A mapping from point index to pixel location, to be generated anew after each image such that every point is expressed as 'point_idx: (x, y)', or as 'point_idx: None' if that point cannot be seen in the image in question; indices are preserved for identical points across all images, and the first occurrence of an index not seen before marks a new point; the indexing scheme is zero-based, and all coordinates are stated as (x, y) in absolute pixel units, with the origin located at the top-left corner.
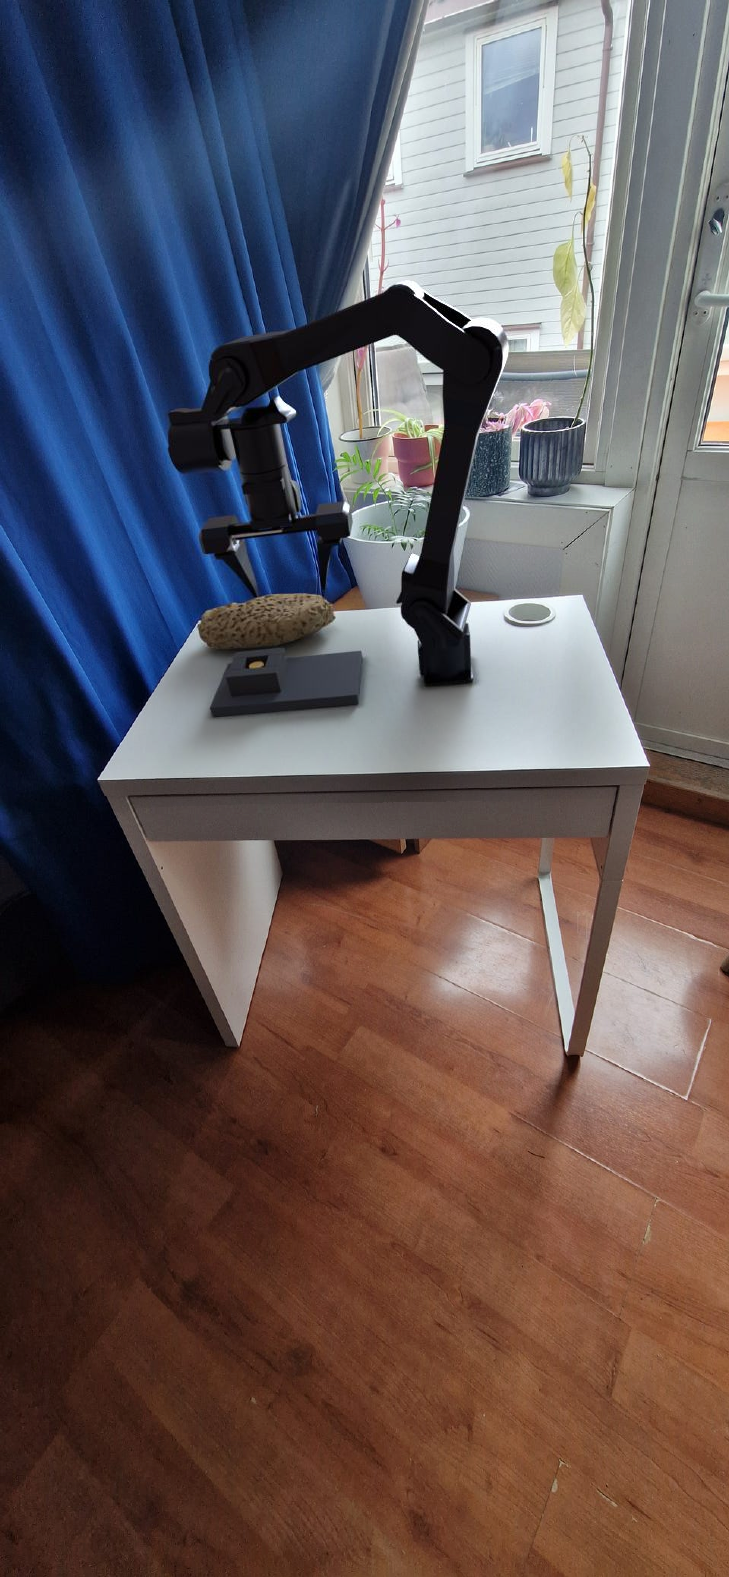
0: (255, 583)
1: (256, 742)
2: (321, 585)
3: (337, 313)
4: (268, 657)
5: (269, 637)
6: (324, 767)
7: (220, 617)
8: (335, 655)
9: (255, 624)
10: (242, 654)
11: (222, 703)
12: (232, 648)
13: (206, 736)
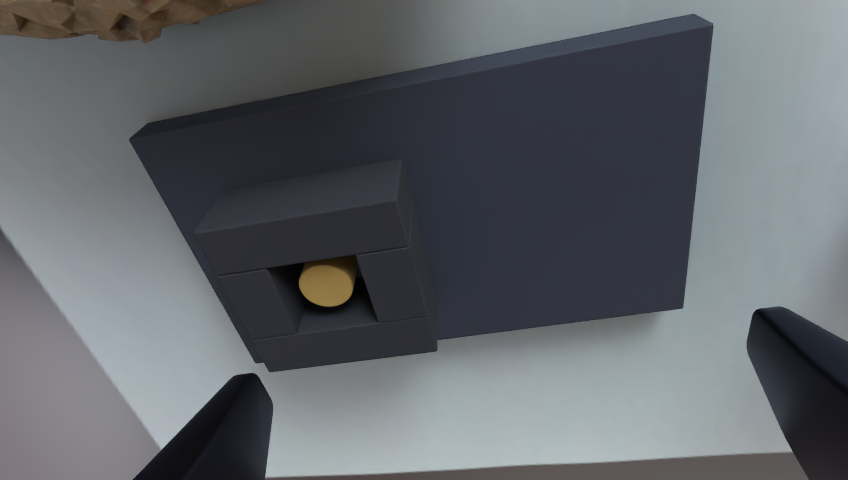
0: (230, 462)
1: (429, 407)
2: (771, 402)
3: None
4: (362, 270)
5: (230, 8)
6: (600, 454)
7: None
8: (590, 71)
9: (120, 5)
10: (235, 251)
11: None
12: None
13: (296, 395)
